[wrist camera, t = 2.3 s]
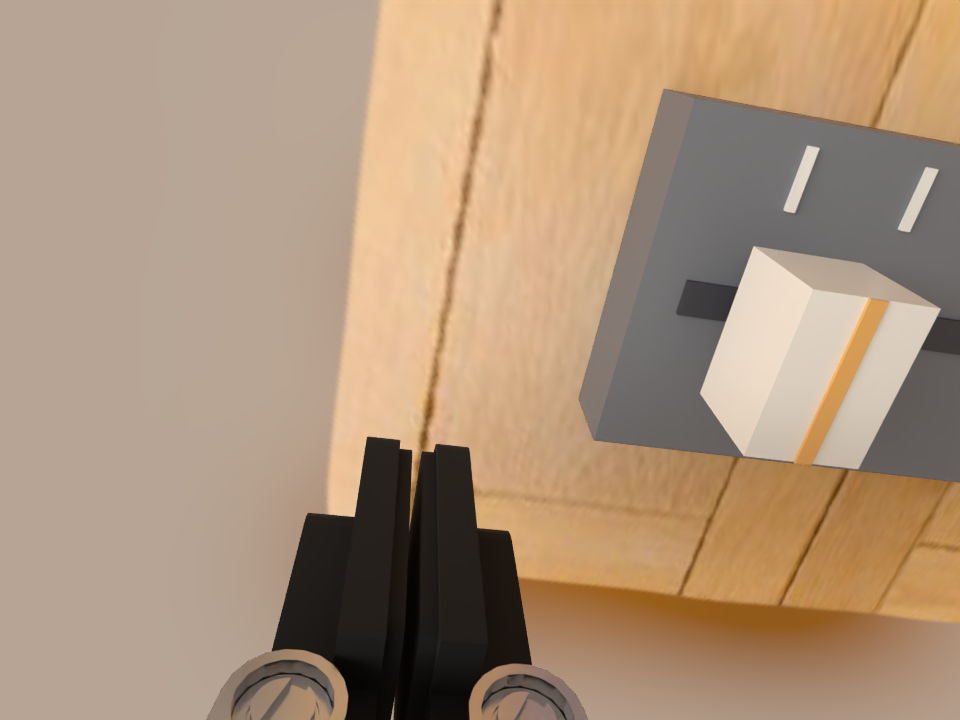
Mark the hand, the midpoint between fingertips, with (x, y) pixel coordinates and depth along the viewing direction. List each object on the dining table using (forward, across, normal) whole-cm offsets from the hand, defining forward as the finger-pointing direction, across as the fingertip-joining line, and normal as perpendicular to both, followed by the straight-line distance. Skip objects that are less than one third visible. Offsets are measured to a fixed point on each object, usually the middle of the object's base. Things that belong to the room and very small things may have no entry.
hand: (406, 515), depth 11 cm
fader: (+11, -11, -1) cm, 16 cm away
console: (+15, -19, -1) cm, 24 cm away
